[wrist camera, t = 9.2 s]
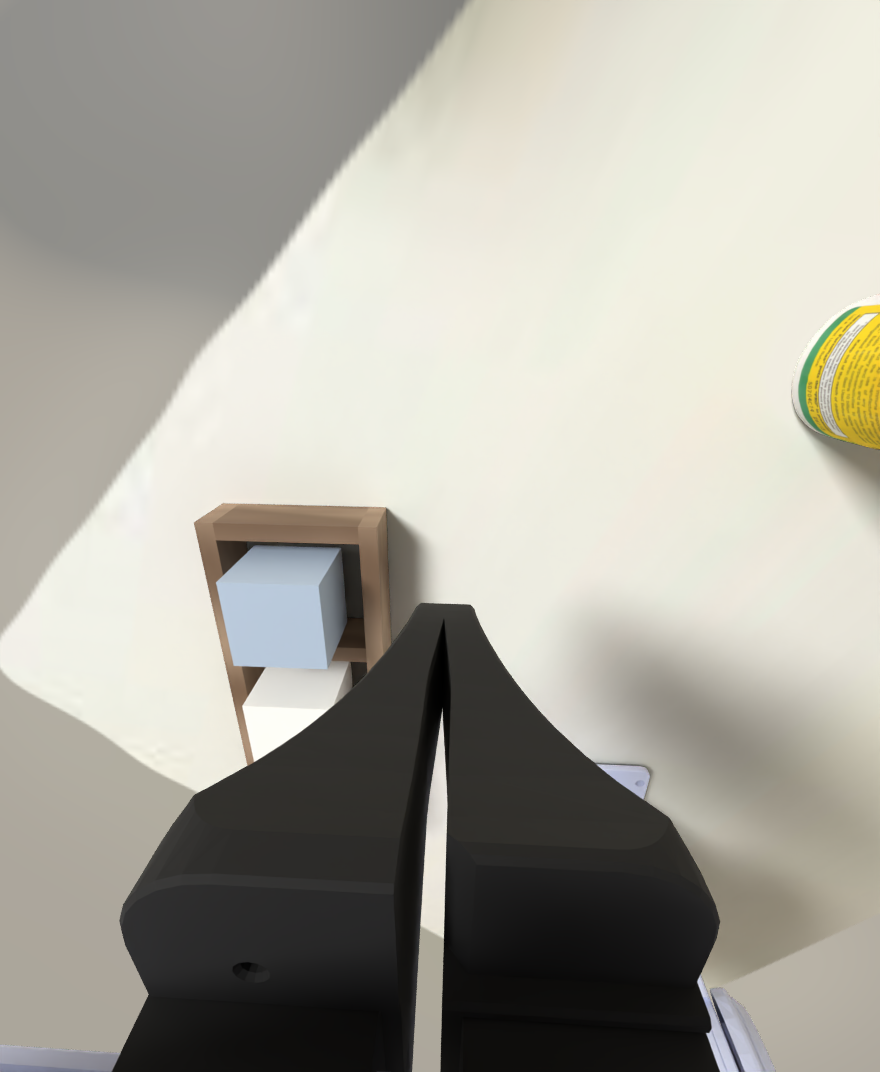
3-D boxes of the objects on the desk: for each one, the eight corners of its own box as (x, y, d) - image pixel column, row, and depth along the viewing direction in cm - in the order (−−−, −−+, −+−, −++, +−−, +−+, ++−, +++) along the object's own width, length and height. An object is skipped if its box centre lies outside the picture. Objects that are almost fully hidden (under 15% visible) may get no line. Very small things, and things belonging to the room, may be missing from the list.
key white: (355, 717, 24) (339, 774, 21) (283, 714, 24) (255, 770, 21) (350, 658, 23) (332, 709, 19) (273, 655, 23) (242, 706, 20)
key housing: (397, 794, 28) (391, 833, 26) (277, 788, 29) (261, 826, 26) (386, 507, 21) (377, 527, 19) (222, 503, 21) (193, 522, 19)
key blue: (347, 621, 22) (327, 669, 19) (267, 619, 22) (233, 665, 19) (341, 547, 20) (318, 585, 17) (254, 545, 20) (216, 582, 17)
